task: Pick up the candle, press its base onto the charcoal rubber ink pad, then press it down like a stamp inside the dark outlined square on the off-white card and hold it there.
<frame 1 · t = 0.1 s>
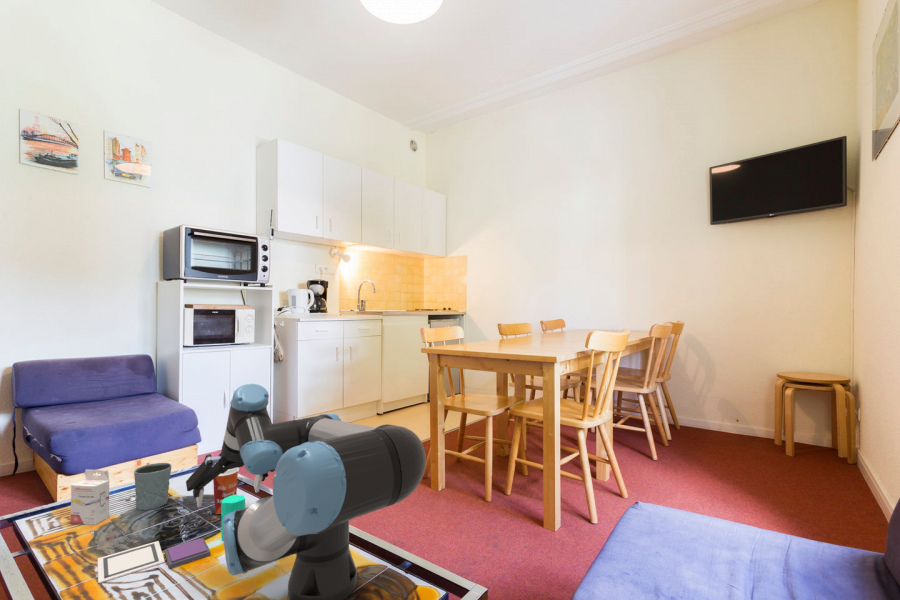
hand: (228, 495, 113), 15 cm above the table, tool tilted 35°, fingers open, 13 cm apart
marked card: (130, 561, 110), on the table
candle: (233, 537, 122), on the table
ink pad: (187, 554, 113), on the table
paper cup: (225, 512, 137), on the table
ink cartridge box: (90, 521, 132), on the table
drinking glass: (153, 504, 143), on the table
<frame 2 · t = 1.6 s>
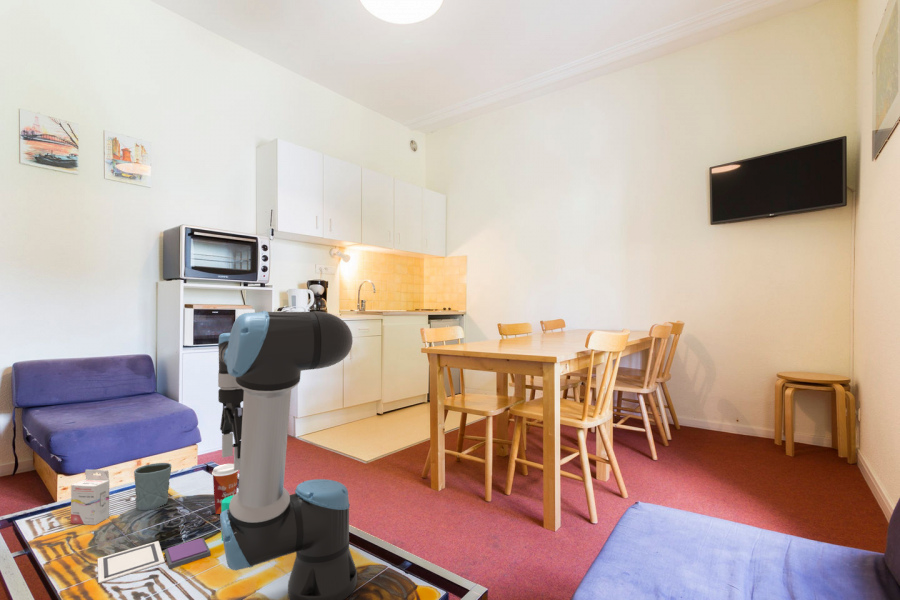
hand: (233, 462, 122), 21 cm above the table, tool pointing down, fingers open, 13 cm apart
nothing on the table moved.
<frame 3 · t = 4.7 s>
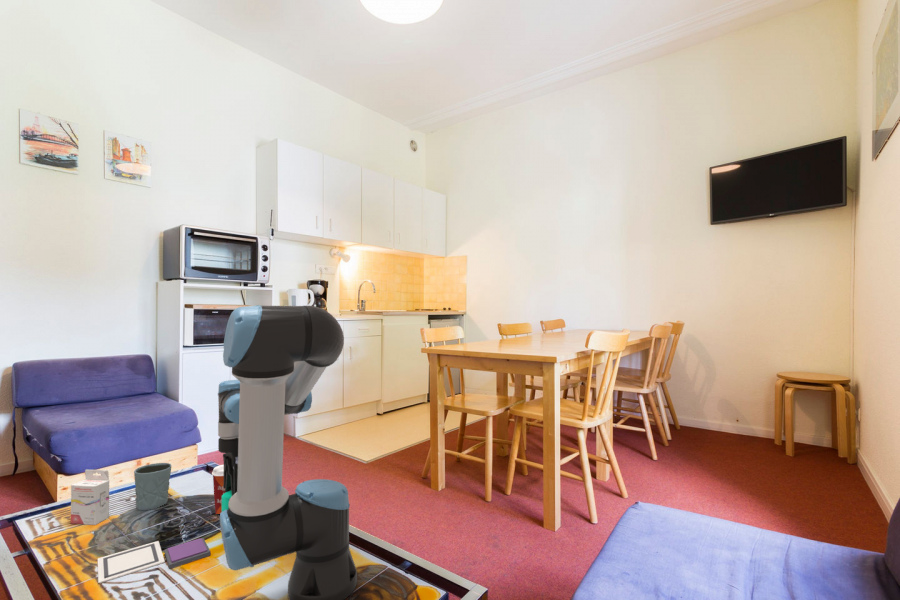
hand: (233, 519, 121), 5 cm above the table, tool pointing down, fingers closed on candle, 5 cm apart
candle: (233, 532, 121), point 1 cm above the table, touching gripper
everything else where it was.
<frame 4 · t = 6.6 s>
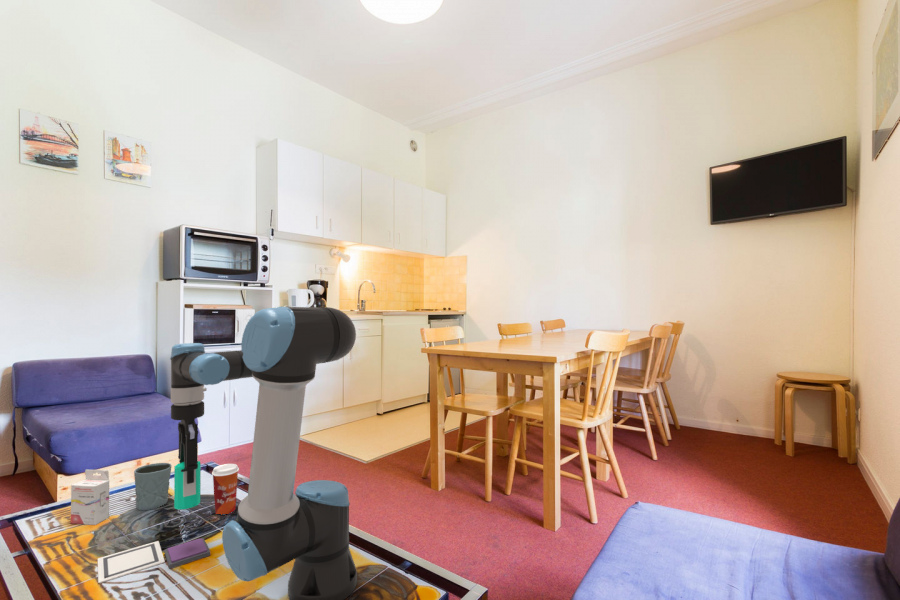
hand: (187, 491, 113), 16 cm above the table, tool pointing down, fingers closed on candle, 5 cm apart
candle: (187, 505, 113), point 13 cm above the table, touching gripper
everything else where it was.
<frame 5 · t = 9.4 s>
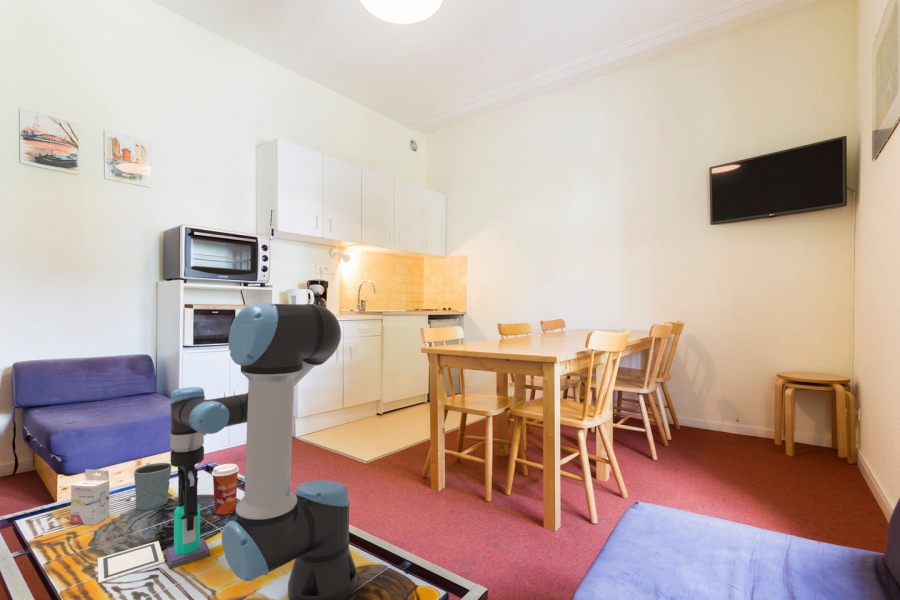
hand: (187, 537, 113), 4 cm above the table, tool pointing down, fingers open, 5 cm apart
candle: (187, 549, 113), point 1 cm above the table, touching gripper, ink pad
everything else where it was.
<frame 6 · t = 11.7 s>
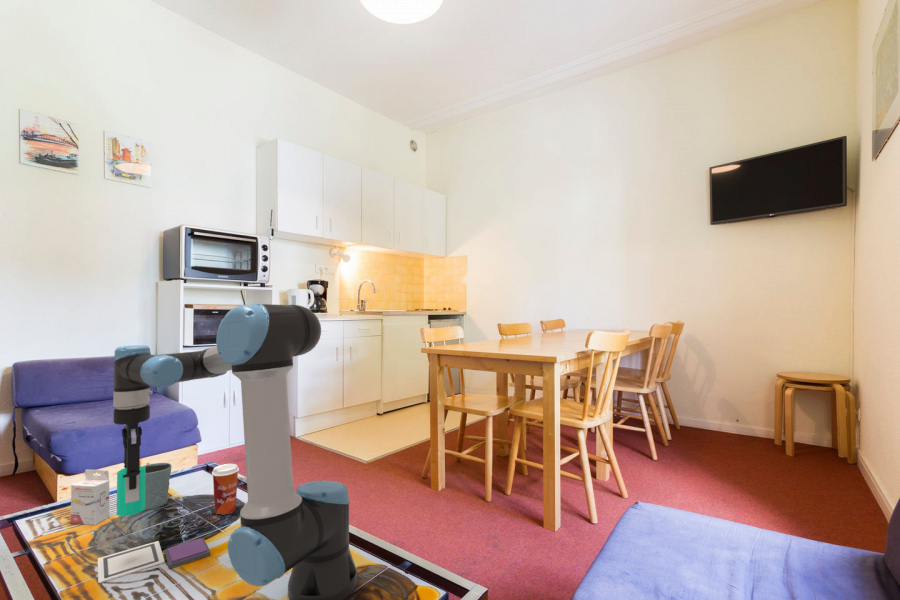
hand: (131, 497, 110), 16 cm above the table, tool pointing down, fingers closed on candle, 5 cm apart
candle: (131, 511, 110), point 12 cm above the table, touching gripper
everything else where it was.
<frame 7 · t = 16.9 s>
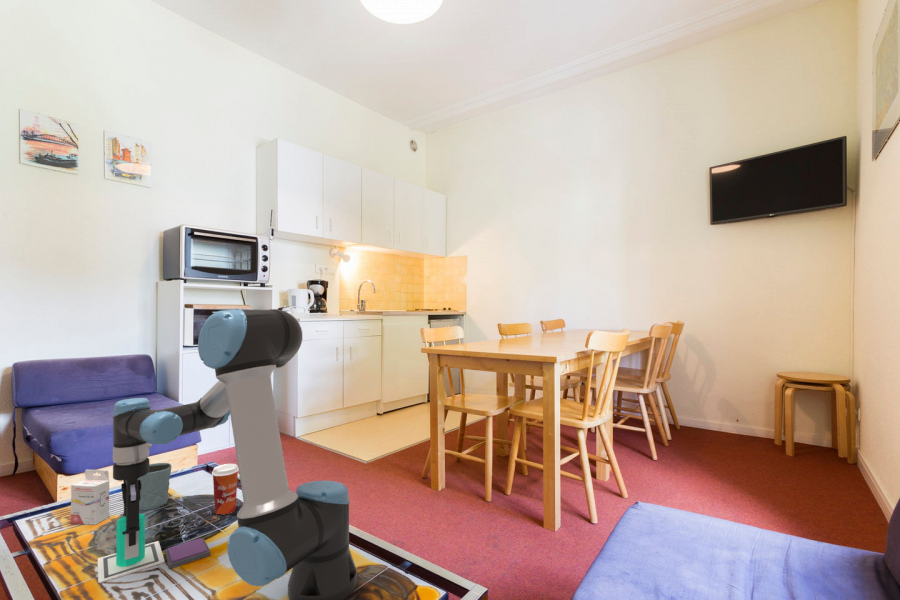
hand: (130, 552, 110), 2 cm above the table, tool pointing down, fingers open, 5 cm apart
candle: (130, 560, 110), resting on marked card
everything else where it was.
at the end: candle inside the target area on the marked card (0.0 cm from its centre), point 0.1 cm above the marked card's base; candle tilted 0°; candle touching marked card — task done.
